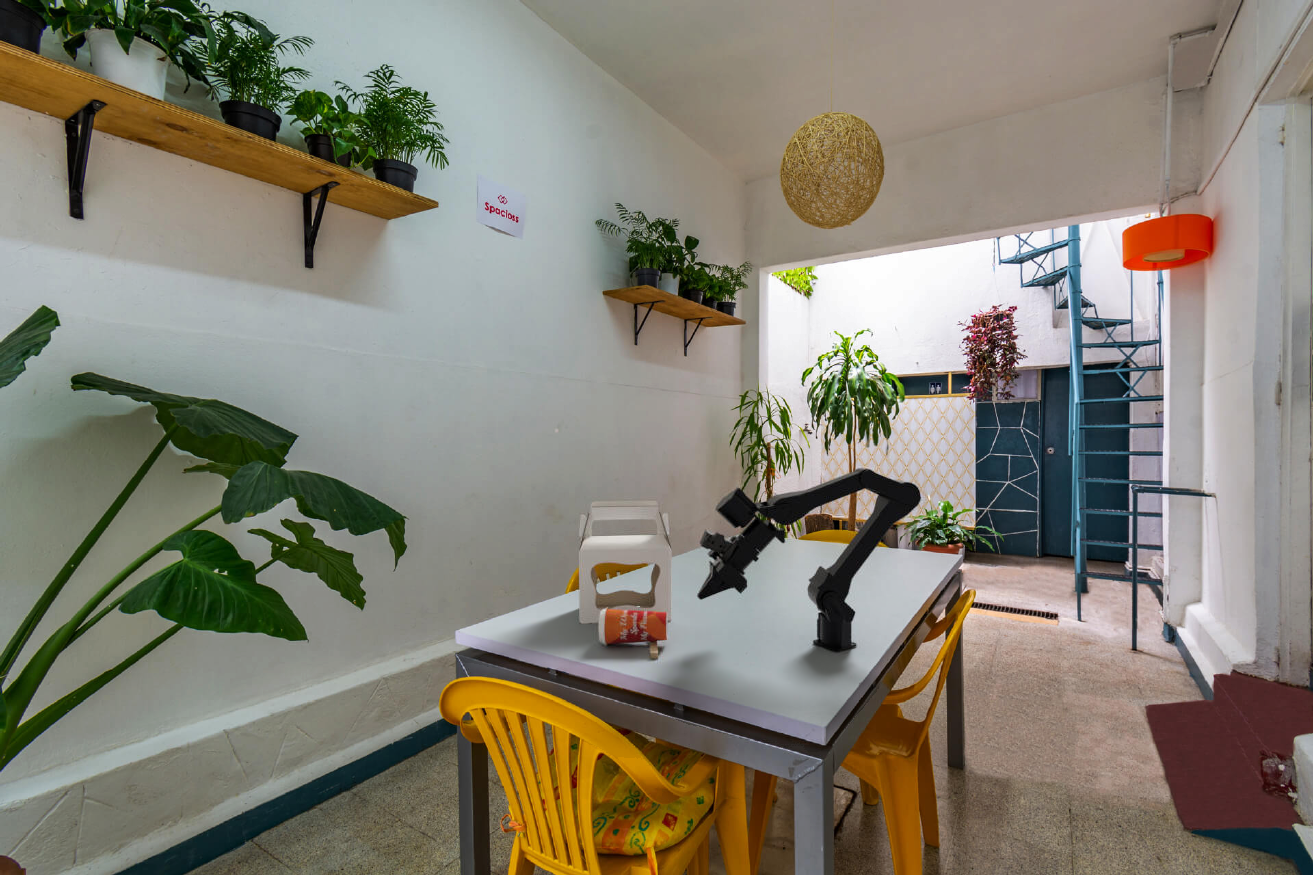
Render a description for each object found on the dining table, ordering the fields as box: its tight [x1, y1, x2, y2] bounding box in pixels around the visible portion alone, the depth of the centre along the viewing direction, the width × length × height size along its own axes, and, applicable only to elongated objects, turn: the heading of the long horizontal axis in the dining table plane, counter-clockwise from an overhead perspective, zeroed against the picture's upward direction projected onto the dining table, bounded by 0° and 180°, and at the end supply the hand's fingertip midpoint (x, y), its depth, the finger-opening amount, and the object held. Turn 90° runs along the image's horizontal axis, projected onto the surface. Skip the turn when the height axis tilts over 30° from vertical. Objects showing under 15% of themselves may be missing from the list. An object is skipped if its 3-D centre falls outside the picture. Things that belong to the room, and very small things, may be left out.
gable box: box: [578, 499, 673, 625], centre depth 148 cm, size 22×13×28 cm, turn 95°
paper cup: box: [597, 607, 669, 646], centre depth 126 cm, size 8×8×14 cm
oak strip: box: [649, 641, 659, 660], centre depth 125 cm, size 12×2×1 cm, turn 2°
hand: (698, 597), depth 125 cm, fingers closed
